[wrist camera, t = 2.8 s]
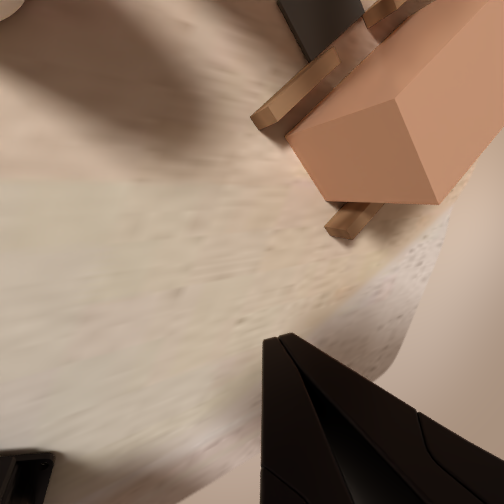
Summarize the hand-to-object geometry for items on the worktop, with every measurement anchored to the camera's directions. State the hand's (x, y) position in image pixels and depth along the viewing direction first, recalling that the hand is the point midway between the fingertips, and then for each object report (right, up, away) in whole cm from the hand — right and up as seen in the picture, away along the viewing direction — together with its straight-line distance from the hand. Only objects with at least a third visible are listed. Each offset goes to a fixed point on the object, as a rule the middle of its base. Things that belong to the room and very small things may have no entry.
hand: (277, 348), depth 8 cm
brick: (+8, +14, +15) cm, 22 cm away
